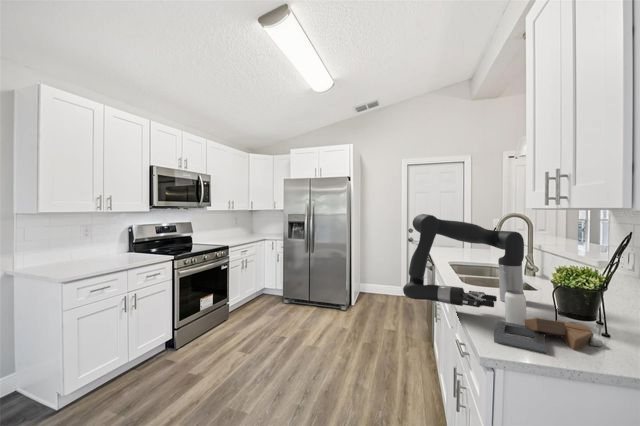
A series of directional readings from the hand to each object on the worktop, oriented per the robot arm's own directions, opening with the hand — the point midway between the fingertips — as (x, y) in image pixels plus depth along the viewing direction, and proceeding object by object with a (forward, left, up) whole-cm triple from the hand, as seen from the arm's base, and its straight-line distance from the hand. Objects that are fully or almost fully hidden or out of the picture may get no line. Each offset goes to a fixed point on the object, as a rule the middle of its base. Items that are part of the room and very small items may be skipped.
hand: (495, 301), depth 106 cm
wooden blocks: (+9, +19, -8) cm, 22 cm away
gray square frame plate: (+15, +8, -7) cm, 18 cm away
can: (0, +6, -7) cm, 10 cm away
